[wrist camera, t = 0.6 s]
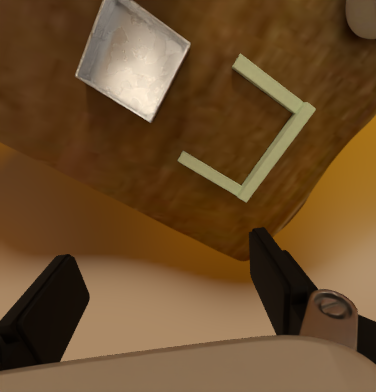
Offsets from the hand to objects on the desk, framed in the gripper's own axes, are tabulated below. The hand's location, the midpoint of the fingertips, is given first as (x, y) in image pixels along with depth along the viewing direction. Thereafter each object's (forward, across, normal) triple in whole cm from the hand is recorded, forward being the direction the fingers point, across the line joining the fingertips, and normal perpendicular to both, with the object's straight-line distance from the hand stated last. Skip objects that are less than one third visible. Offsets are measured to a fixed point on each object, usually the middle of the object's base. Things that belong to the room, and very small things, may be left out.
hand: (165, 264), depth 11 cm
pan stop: (+29, -12, -2) cm, 31 cm away
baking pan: (+29, +4, -15) cm, 33 cm away
